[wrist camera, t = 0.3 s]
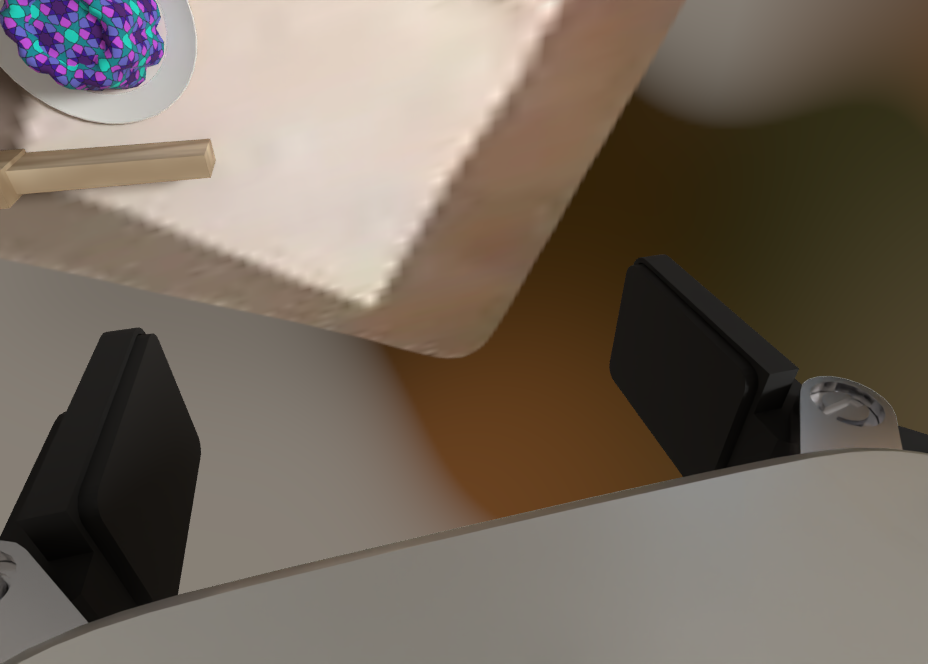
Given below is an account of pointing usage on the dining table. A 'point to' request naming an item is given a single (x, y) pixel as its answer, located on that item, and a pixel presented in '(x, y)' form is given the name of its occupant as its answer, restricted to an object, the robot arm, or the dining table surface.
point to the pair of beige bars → (101, 167)
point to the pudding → (98, 54)
